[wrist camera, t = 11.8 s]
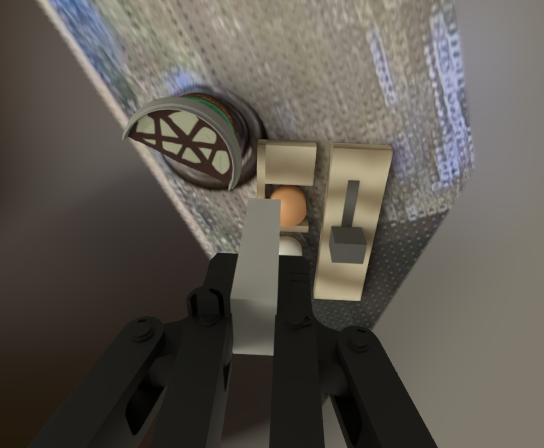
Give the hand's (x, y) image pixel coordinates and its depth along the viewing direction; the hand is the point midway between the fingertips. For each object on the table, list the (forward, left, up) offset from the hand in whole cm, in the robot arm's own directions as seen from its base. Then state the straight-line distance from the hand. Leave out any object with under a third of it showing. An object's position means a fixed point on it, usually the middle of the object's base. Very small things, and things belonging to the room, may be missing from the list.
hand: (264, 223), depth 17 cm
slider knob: (+17, +10, -26) cm, 32 cm away
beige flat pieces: (+17, +6, -28) cm, 33 cm away
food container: (+2, -8, -28) cm, 29 cm away
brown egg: (+13, +2, -27) cm, 30 cm away
